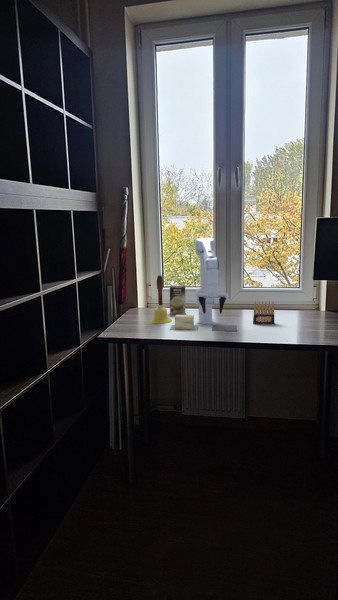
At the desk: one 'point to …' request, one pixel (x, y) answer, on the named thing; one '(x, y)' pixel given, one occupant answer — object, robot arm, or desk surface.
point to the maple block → (184, 321)
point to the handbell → (160, 306)
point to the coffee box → (177, 300)
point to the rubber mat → (224, 328)
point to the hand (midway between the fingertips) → (212, 313)
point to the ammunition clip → (263, 313)
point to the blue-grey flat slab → (185, 329)
